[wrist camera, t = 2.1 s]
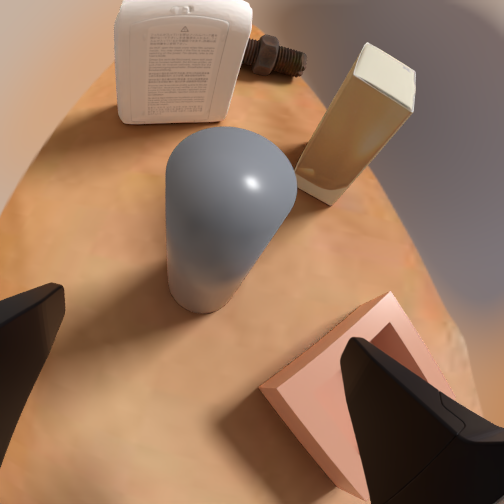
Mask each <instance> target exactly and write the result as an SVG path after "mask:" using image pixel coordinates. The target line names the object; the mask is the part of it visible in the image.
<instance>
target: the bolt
mask: <svg viewBox="0 0 504 504" xmlns="http://www.w3.org/2000/svg"><path fill="white" fill-rule="evenodd" d="M306 61H307V56H306V54H305V53H303V52H299V51H295V50H292V49H289V48H285V47H284V48H283V47H282V46H281V47H280V46H279V41H278V39H277V38H276V37H274V36H270V35H264V36H262V37H261V38H260V40H258V41H256V40H253V39H252V40H251V39H250V38H249V40H248V43H247V46H246V50H245V53H244V56H243V60H242V63H243V64H245V63H246V64H247V65H248V64H249V65H252V71H253V73H254V74H259V75H263V76H266V75H269V74H270V73H271V71H272V70H273V71H274V70H275V71H276V72H277V71H278V72H279V73H280V72H281V73H284V74H287V75H290V76H291V75H292V76H293V77H294V76H295V77H298V76H301V75H302V73H303V71H304V70H305V68H306Z"/></svg>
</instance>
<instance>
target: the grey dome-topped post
mask: <svg viewBox="0 0 504 504" xmlns="http://www.w3.org/2000/svg"><path fill="white" fill-rule="evenodd" d="M296 195H297V180H296V176H295V172H294V170H293V167H292V165H291V163H290V162H289V160H288V158H287V157H286V156H285V154H284V153H283V152H282V151H281V150H280V149H279V148H278V147H277V146H276V145H275V144H273V143H272V142H271V141H269V140H268V139H266V138H264V137H263V136H261V135H259V134H256V133H254V132H252V131H248V130H245V129H241V128H235V127H213V128H208V129H204V130H201V131H198V132H196V133H193V134H192V135H190V136H188V137H187V138H185V139H184V140H183V141H181V142H180V143H179V144H178V145H177V146H176V148H175V149H174V150H173V152H172V154H171V155H170V157H169V160H168V163H167V167H166V247H167V271H168V286H169V290H170V292H171V294H172V296H173V298H174V299H175V301H176V302H177V303H178V304H179V305H180V306H182V307H183V308H185V309H186V310H189V311H191V312H194V313H203V314H204V313H211V312H214V311H217V310H219V309H221V308H222V307H223V306H225V305H226V304H227V303H228V302H229V300H230V299H231V298H232V296H233V295H234V293H235V292H236V290H237V289H238V287H239V286H240V284H241V283H242V281H243V280H244V279H245V277H246V276H247V274H248V273H249V271H250V270H251V268H252V267H253V265H254V264H255V262H256V261H257V259H258V258H259V257H260V255H261V254H262V252H263V251H264V249H265V248H266V246H267V245H268V243H269V242H270V240H271V239H272V237H273V236H274V234H275V233H276V232H277V230H278V229H279V227H280V226H281V224H282V223H283V221H284V220H285V218H286V217H287V215H288V214H289V212H290V211H291V209H292V207H293V205H294V202H295V200H296Z"/></svg>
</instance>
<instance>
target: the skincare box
mask: <svg viewBox="0 0 504 504" xmlns="http://www.w3.org/2000/svg"><path fill="white" fill-rule="evenodd" d="M415 81H416V72H415V71H414V70H412V69H410V68H409V67H407V66H406V65H404V64H403V63H401V62H400V61H398V60H396V59H395V58H393V57H392V56H390V55H388V54H387V53H385V52H383V51H382V50H380V49H378V48H376V47H374V46H373V45H371V44H369V43H366V44H365V45H364V47H363V49H362V50H361V52H360V54H359V56H358V57H357V59H356V61H355V63H354V64H353V66H352V68H351V70H350V71H349V73H348V75H347V76H346V78H345V80H344V82H343V83H342V85H341V87H340V89H339V90H338V92H337V94H336V95H335V97H334V99H333V101H332V102H331V104H330V106H329V108H328V109H327V111H326V113H325V115H324V116H323V118H322V120H321V121H320V123H319V125H318V127H317V128H316V130H315V132H314V133H313V135H312V137H311V139H310V140H309V142H308V144H307V146H306V147H305V149H304V151H303V153H302V155H301V157H300V159H299V161H298V163H297V165H296V167H295V170H294V172H295V176H296V180H297V187H298V188H299V189H301V190H303V191H305V192H307V193H308V194H310V195H312V196H314V197H315V198H317V199H319V200H321V201H323V202H324V203H326V204H328V205H330V206H332V205H333V204H334V203H335V202H336V201H337V200H338V199H339V198H340V196H341V195H342V194H343V193H344V192H345V191H346V189H347V188H348V187H349V186H350V185H351V184H352V183H353V182H354V180H355V179H356V178H357V177H358V176H359V175H360V174H361V172H362V171H363V170H364V169H365V168H366V167H367V166H368V165H369V163H370V162H371V161H372V160H373V159H374V158H375V156H376V155H377V154H378V153H379V152H380V151H381V150H382V148H383V147H384V146H385V145H386V144H387V142H388V141H389V140H390V139H391V138H392V137H393V136H394V134H395V133H396V132H397V131H398V130H399V128H400V127H401V126H402V125H403V124H404V123H405V121H406V120H407V119H408V118H409V117H410V116H411V114H412V113H413V112H414V99H415V90H416V88H415Z"/></svg>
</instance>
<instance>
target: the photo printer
mask: <svg viewBox="0 0 504 504" xmlns="http://www.w3.org/2000/svg"><path fill="white" fill-rule="evenodd" d="M251 28H252V8H250V7H249V3H246V2H245V1H243V0H124V1H123V2H122V5H121V7H120V12H119V13H118V15H117V18H116V20H115V25H114V49H115V75H116V91H117V104H118V115H119V117H120V119H121V120H122V121H123V123H125V124H155V123H183V122H216V121H222V120H224V119H225V118H226V115H227V113H228V109H229V105H230V102H231V98H232V95H233V91H234V88H235V84H236V80H237V77H238V73H239V70H240V67H241V63H242V60H243V56H244V53H245V50H246V46H247V43H248V40H249V36H250V33H251Z"/></svg>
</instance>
